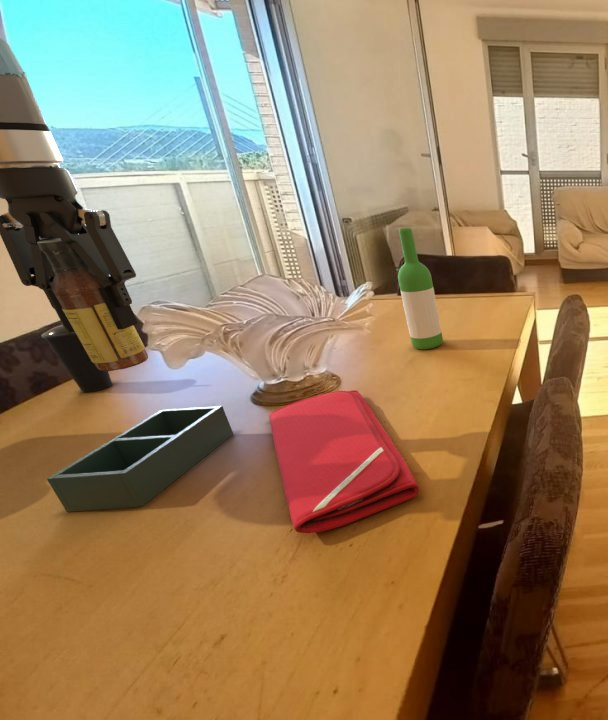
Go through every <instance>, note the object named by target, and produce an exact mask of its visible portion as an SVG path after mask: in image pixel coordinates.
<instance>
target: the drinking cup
mask: <svg viewBox="0 0 608 720" xmlns="http://www.w3.org/2000/svg"><path fill="white" fill-rule="evenodd" d="M54 310H55V309H54ZM55 313H56V315H57V317H58V319H59V320H60V322H61V324H60V325H56V326H54V327H52V328H50V329H49V330H47V331H45V332H43V333H42V334H41V338H42V339H45V340H46V342H47V343H48V345H49V346H50V347H51V349H52V351H53V352H54V354H55V355H56V356H57V358H58V359H59V361H60V362H61V363H62V365H63V366H64V368H65V369H66V371H67V372H68V373H69V375H70V376H71V379H73V382H75V384H76V385H77V386H78V388H79V389H80V391H81V392H83V393H93V392H98V391H101V390H102V391H103V390H105V389H108V388H110V387H112V386H113V381H112V378H111V376H110V373H109V372H110V371H102V370H99V369H98V368H97V367H96V366H95V364H94V363H93V362H92V361H91V359H90V357H89V356H88V354H87V352H86V350H85V349H84V347H83V345H82V343H81V341H80V340H79V338H78V336H77V334H76V333H75V332H69V331H68V329H67V327H66V325H65V323H64V322H63V320H62V318H61V316H60V314H59V312H58V310H55Z"/></svg>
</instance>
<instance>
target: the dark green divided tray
mask: <svg viewBox="0 0 608 720" xmlns="http://www.w3.org/2000/svg"><path fill="white" fill-rule="evenodd" d="M233 435H234V431H233V429H232V427H231V425H230V421H229V419H228V416H227V414H226V412H225V409H224V406H223V405H216V406H198V407H197V406H196V407H182V408H166V409H160V410H158V411H157V412H155V413H153V414H152V415H150V416H148V417H147V418H145V419H143V420H142V421H140V422H139V423H137V424H135V425H134V426H132V427H130V428H129V429H126V430H125V431H123V432H122V433H120V434H118V435H117V436H115V437H113V438H111V439H110V440H108V441H107V442H105V443H103V444H102V445H100V446H99V447H97V448H95V449H93V450H92V451H90V452H88V453H87V454H85V455H83V456H82V457H80V458H78V459H76V460H75V461H73V462H71V463H70V464H69V465H67V466H65V467H64V468H62V469H60V470H58V471H56V472H55V473H53V474H52V475H50V476H48V477H47V478H46V480H47V482H48V484H49V485H50V487H51V489H52V491H53V492H54V493H55V496H56V497H57V498H58V500H59V502H60V503H61V505H62V506H63V508H64V510H65V511H66V513H70V512H71V513H72V512H85V511H96V510H97V511H98V510H99V511H100V510H112V509H113V510H114V509H126V508H127V509H128V508H139V507H141V508H142V507H144V506H145V505H147V504H148V503H149V502H151V500H153V499H154V498H155V497H157V496H158V495H159V494H160V493H162V492H163V491H164V490H165V489H167V488H168V487H169V486H171V485H172V484H173V483H174V482H175V481H177V480H178V479H179V478H181V476H183V475H184V474H185V473H187V472H188V471H189V470H191V469H192V468H193V467H194V466H195V465H197V464H198V463H199V462H200V461H202V460H203V459H204V458H206V457H207V456H208V455H209V454H210V453H212V452H213V451H214V450H215V449H217V448H218V447H219V446H220V445H222V444H223V443H224V442H225V441H227V440H228V439H230V437H232V436H233Z"/></svg>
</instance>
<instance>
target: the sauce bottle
mask: <svg viewBox="0 0 608 720" xmlns="http://www.w3.org/2000/svg"><path fill="white" fill-rule="evenodd" d="M37 244H38V246H39V248H40V250H41V251H42V252H43V253H44V254H45V255H46V257H47V259H48V260H49V263H50V264H51V266H52V269H53V271H54V273H55V276H54V280H53V283H52V291H53V293H54V294H55V296H56V298H57V299H58V301H59V303H60V305H61V306H62V310H63V312H64V313H65V315H66V317H67V319H68V320H69V322H70V324H71V326H72V327H73V329H74V331H75V333H76V334H77V336H78V338H79V340H80V341H81V343H82V345H83V347H84V349H85V350H86V352H87V354H88V356H89V357H90V359H91V361H92V362H93V363H94V364H95V366H96V367H97V368H98V369H99V370H102V371H108V372H113V371H118V370H126V369H128V368H132V367H136V366H138V365H140V364H143V363H145V362H146V361H147V360H148V359H149V354H148V353H147V350H146V347H145V345H144V343H143V341H142V339H141V337H140V335H139V332H138V331H137V329H136V327H135V325H133V326H130V327H128V328H125V329H118V328H117V326H116V324H115V322H114V320H113V318H112V316H111V314H110V312H109V310H108V307H107V305H106V303H105V301H104V299H103V297H102V295H101V293H100V291H99V289H98V288H99V287H100V286H99V285H100V284H102V282H101V281H100V280H99V279H98V278H97V276H96V275H95V274H94V273H93V272H92V270H91V269H90V268H89V267H88V266H87V265H86V263H85V262H84V261H83V260H82V259H81V257H80V256H79V255H78V254H77V253H76V252H75V250H74V249H73V248H72V247H71V246H70V245H69V244H67V243H64V242H63V241H62V240H61V239H60V238H57V239H50V240H43V241H39V242H37Z"/></svg>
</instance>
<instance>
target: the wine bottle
mask: <svg viewBox="0 0 608 720" xmlns="http://www.w3.org/2000/svg"><path fill="white" fill-rule="evenodd" d="M398 233H399V239H400V244H401V249H402V254H403V259H404V264H402V265H401V267H400V268H399V270H398V273H397V280H398V285H399V290H400V295H401V301H402V305H403V310H404V315H405V319H406V323H407V329H408V333H409V337H410V342H411V345H412V347H413V348H414V349H416V350H422V351H423V350H431V349H435V348H437V347H440V346H441V345H442V344H443V342H444V341H443V340H444V339H443V331H442V326H441V320H440V315H439V310H438V305H437V299H436V294H435V288H434V284H433V279H432V274H431V271H430V270H429V268H428V267H427V266H426V265H425V264H424V263H422V262H420V261H419V258H418V253H417V247H416V244H415V243H416V242H415V238H414V233H413V229H412V228H410V227H406V228H405V227H404V228H403V227H402V228H399V229H398Z"/></svg>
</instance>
